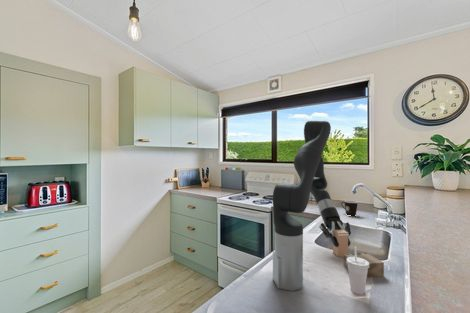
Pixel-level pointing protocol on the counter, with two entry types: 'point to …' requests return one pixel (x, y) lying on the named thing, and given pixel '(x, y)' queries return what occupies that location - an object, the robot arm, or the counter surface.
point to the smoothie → (357, 273)
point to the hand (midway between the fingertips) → (343, 245)
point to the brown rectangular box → (374, 264)
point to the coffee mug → (350, 207)
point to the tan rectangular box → (341, 243)
